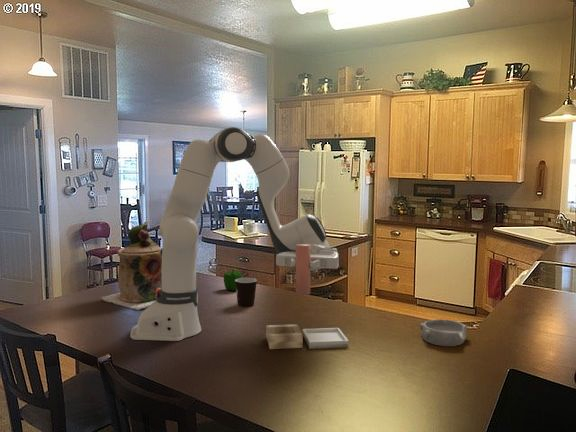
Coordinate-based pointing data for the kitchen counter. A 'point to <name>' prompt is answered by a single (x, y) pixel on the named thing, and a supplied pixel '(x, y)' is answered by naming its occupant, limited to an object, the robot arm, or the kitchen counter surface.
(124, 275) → the cookie jar
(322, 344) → the tray
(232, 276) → the bell pepper
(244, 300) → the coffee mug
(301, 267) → the dowel
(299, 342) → the socket block
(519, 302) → the kitchen counter surface
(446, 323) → the dish
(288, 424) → the kitchen counter surface
